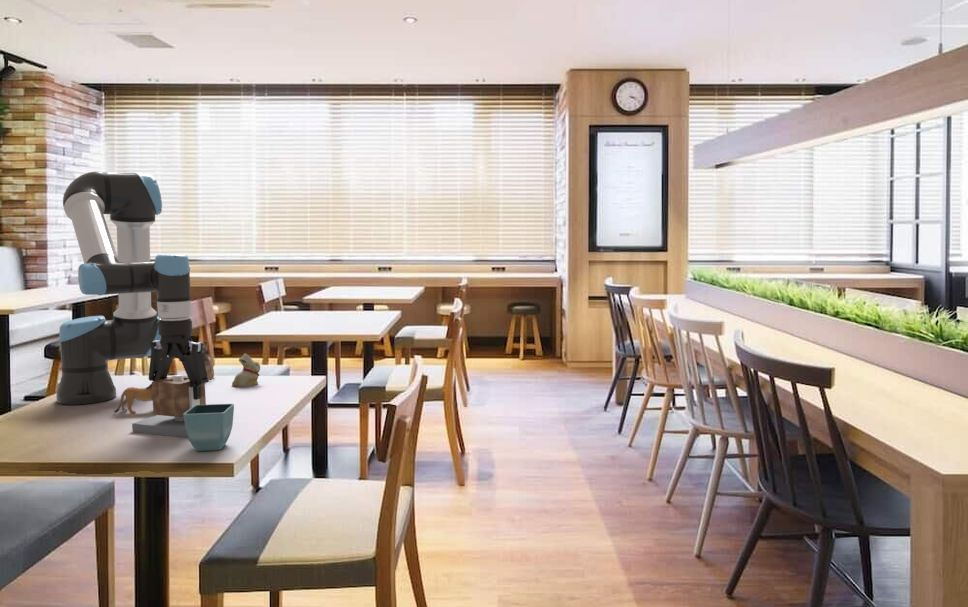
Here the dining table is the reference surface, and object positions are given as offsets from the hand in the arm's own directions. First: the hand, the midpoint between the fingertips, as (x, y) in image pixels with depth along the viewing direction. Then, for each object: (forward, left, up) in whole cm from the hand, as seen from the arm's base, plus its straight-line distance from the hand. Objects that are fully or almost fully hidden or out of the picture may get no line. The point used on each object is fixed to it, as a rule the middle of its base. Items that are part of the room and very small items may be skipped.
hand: (179, 410), depth 179 cm
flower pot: (+18, -11, -5) cm, 22 cm away
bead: (0, 0, 0) cm, 0 cm away
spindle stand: (0, 0, -4) cm, 4 cm away
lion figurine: (-21, +11, -5) cm, 24 cm away
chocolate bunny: (-16, +47, -5) cm, 50 cm away
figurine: (-36, +51, -5) cm, 63 cm away
